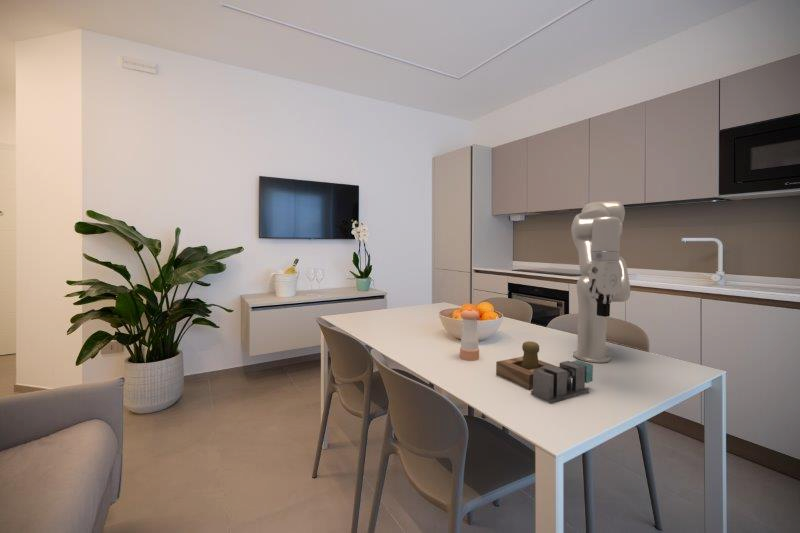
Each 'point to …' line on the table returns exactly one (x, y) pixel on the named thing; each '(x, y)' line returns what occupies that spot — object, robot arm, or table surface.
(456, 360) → the table surface
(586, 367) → the steel shaft
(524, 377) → the walnut holder
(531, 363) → the olive brown pear shape
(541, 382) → the shaft bracket
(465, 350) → the salt shaker
